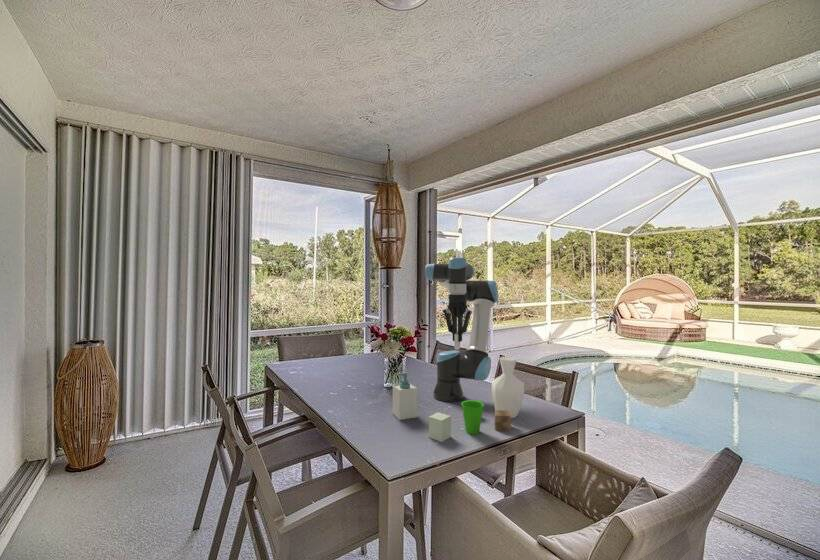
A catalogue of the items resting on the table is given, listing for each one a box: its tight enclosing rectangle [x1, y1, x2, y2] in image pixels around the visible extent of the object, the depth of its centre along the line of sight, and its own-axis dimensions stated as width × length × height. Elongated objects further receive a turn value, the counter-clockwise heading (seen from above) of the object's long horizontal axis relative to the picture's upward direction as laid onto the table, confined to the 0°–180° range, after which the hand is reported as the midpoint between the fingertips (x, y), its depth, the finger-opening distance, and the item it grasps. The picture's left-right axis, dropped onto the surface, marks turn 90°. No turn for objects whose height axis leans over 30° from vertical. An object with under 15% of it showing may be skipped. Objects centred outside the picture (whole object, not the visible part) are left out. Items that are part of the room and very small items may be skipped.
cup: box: [460, 399, 485, 435], centre depth 145 cm, size 9×9×11 cm
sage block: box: [428, 412, 452, 443], centre depth 140 cm, size 6×6×8 cm
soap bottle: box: [392, 371, 419, 421], centre depth 162 cm, size 9×9×19 cm
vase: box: [491, 356, 525, 419], centre depth 163 cm, size 14×14×25 cm
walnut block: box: [494, 409, 512, 432], centre depth 149 cm, size 6×6×6 cm
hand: (457, 349), depth 157 cm, fingers closed
